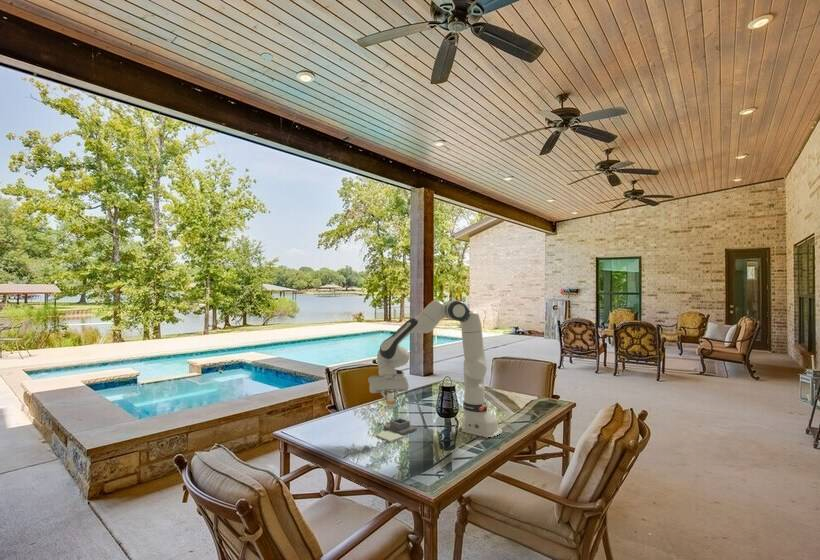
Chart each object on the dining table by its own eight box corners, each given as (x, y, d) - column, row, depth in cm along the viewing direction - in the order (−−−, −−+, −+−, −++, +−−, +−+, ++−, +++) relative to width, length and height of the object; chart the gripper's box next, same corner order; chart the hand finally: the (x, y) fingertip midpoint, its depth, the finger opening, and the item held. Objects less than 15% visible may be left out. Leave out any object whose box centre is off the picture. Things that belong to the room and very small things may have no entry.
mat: (403, 437, 202) (403, 436, 202) (390, 442, 196) (390, 440, 196) (388, 431, 210) (389, 430, 210) (375, 436, 204) (375, 434, 204)
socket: (416, 430, 213) (416, 422, 213) (401, 435, 205) (401, 426, 205) (398, 423, 223) (398, 415, 223) (383, 428, 215) (383, 420, 215)
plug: (396, 408, 204) (396, 390, 204) (389, 409, 200) (390, 391, 201) (390, 406, 207) (390, 388, 207) (384, 407, 204) (384, 390, 204)
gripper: (368, 372, 208) (371, 396, 198) (406, 371, 213) (411, 394, 203) (367, 379, 212) (369, 403, 203) (404, 377, 217) (408, 401, 208)
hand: (390, 398), depth 203 cm, fingers closed on plug, 4 cm apart
